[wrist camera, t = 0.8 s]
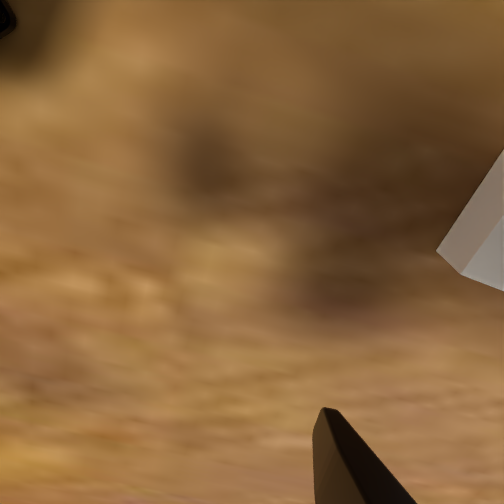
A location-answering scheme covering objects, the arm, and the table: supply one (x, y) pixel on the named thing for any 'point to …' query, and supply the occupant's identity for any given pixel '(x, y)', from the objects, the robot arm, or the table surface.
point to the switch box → (480, 232)
